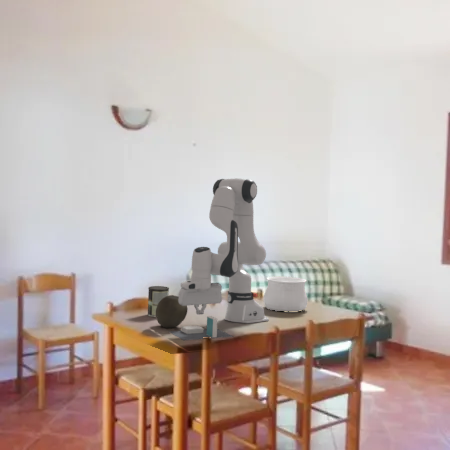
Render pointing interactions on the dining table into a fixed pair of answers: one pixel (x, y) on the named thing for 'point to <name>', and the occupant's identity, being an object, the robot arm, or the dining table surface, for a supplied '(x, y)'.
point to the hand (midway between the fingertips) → (200, 314)
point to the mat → (199, 335)
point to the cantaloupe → (170, 312)
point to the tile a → (192, 329)
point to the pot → (285, 294)
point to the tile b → (211, 326)
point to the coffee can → (156, 298)
